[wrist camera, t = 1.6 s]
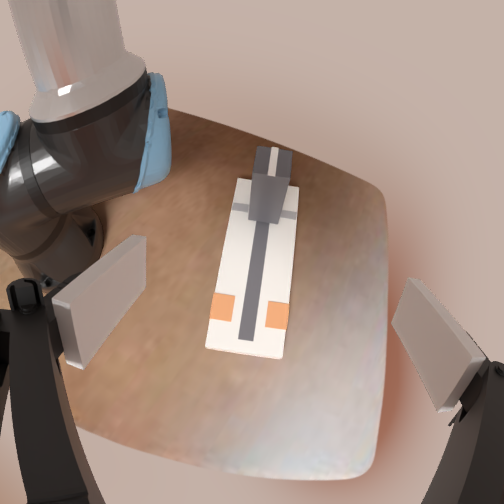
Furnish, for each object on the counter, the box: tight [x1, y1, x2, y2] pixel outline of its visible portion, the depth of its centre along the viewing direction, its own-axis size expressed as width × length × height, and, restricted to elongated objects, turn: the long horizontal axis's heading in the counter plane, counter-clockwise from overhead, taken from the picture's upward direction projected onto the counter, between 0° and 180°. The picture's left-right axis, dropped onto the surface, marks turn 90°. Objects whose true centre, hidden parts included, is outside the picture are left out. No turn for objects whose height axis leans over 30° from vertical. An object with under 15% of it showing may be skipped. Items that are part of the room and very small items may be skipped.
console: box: [205, 178, 299, 359], centre depth 40 cm, size 24×9×2 cm, turn 172°
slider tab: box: [248, 146, 293, 224], centre depth 37 cm, size 4×4×10 cm
